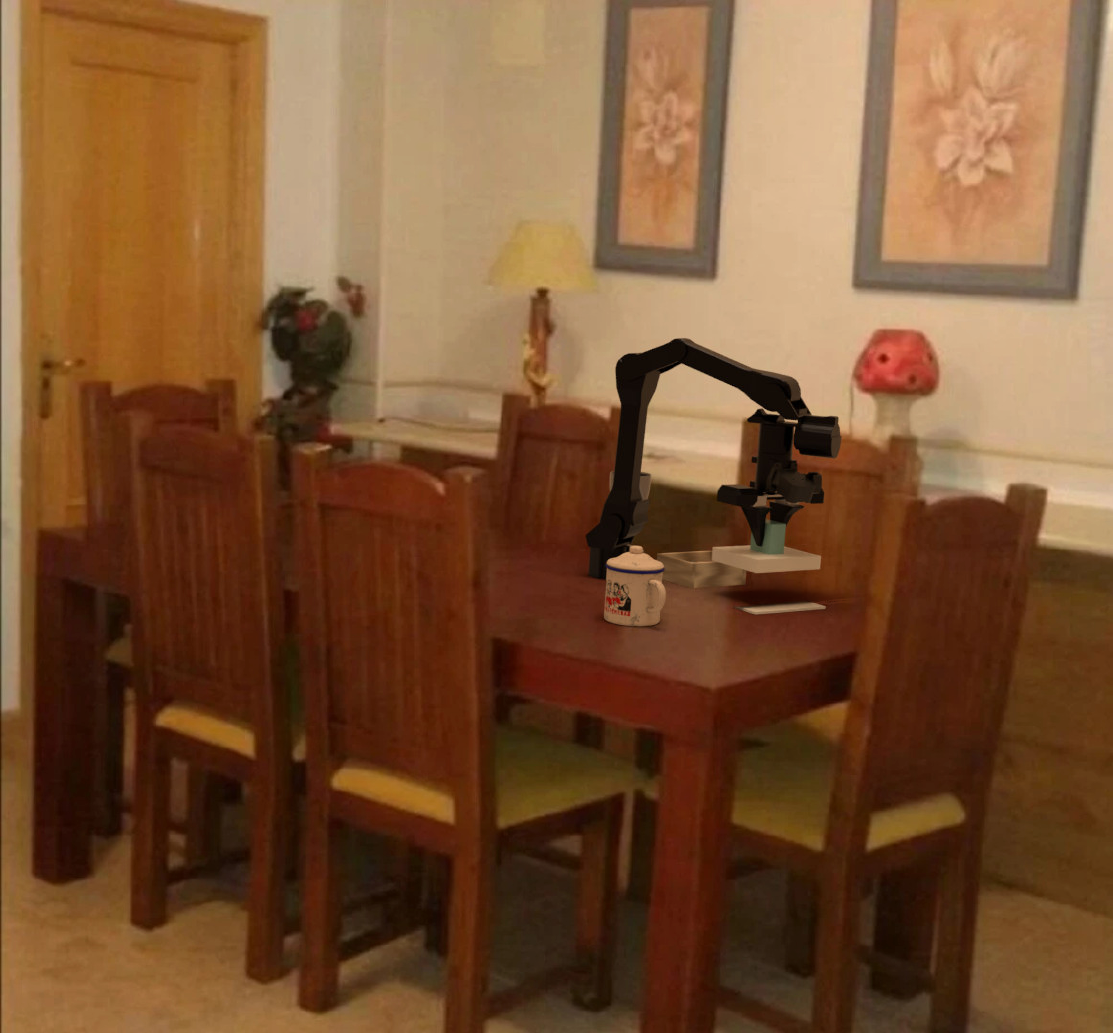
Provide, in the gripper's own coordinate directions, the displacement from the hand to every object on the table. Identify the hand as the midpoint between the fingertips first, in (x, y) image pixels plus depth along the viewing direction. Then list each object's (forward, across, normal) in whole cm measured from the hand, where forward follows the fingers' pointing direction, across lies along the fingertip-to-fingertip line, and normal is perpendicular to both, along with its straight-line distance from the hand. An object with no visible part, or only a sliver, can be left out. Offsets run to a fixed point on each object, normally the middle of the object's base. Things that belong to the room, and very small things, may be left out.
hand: (767, 545), depth 271 cm
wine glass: (+10, +7, +50) cm, 51 cm away
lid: (+3, 0, 0) cm, 3 cm away
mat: (+10, 0, 0) cm, 10 cm away
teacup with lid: (+10, -30, -6) cm, 32 cm away
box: (+10, -1, +16) cm, 19 cm away
